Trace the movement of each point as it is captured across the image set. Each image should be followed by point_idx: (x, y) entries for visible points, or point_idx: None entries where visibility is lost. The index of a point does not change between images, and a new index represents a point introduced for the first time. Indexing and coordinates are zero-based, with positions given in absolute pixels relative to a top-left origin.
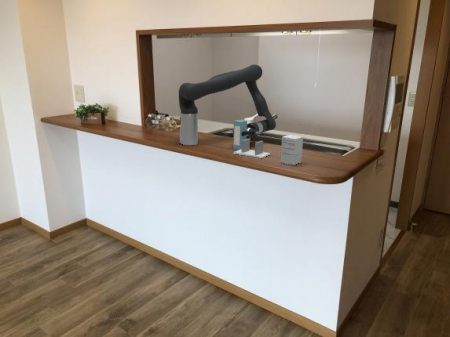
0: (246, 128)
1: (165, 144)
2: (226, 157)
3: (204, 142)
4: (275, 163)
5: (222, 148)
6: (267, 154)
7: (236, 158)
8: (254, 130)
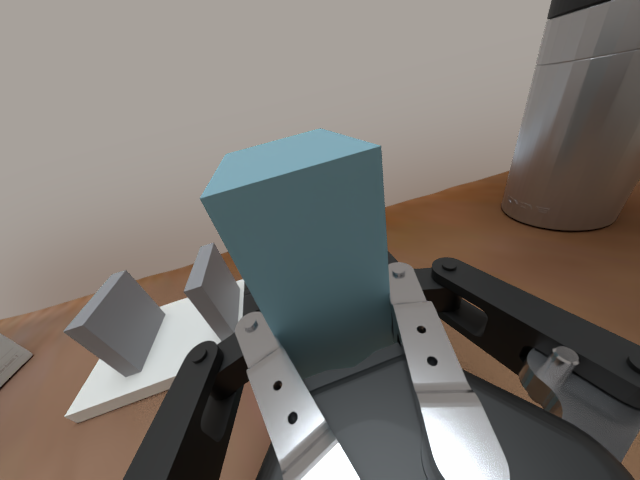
0: (262, 306)
1: None
2: None
3: (623, 265)
4: (64, 333)
5: None
6: (90, 374)
7: (232, 262)
8: (150, 462)
